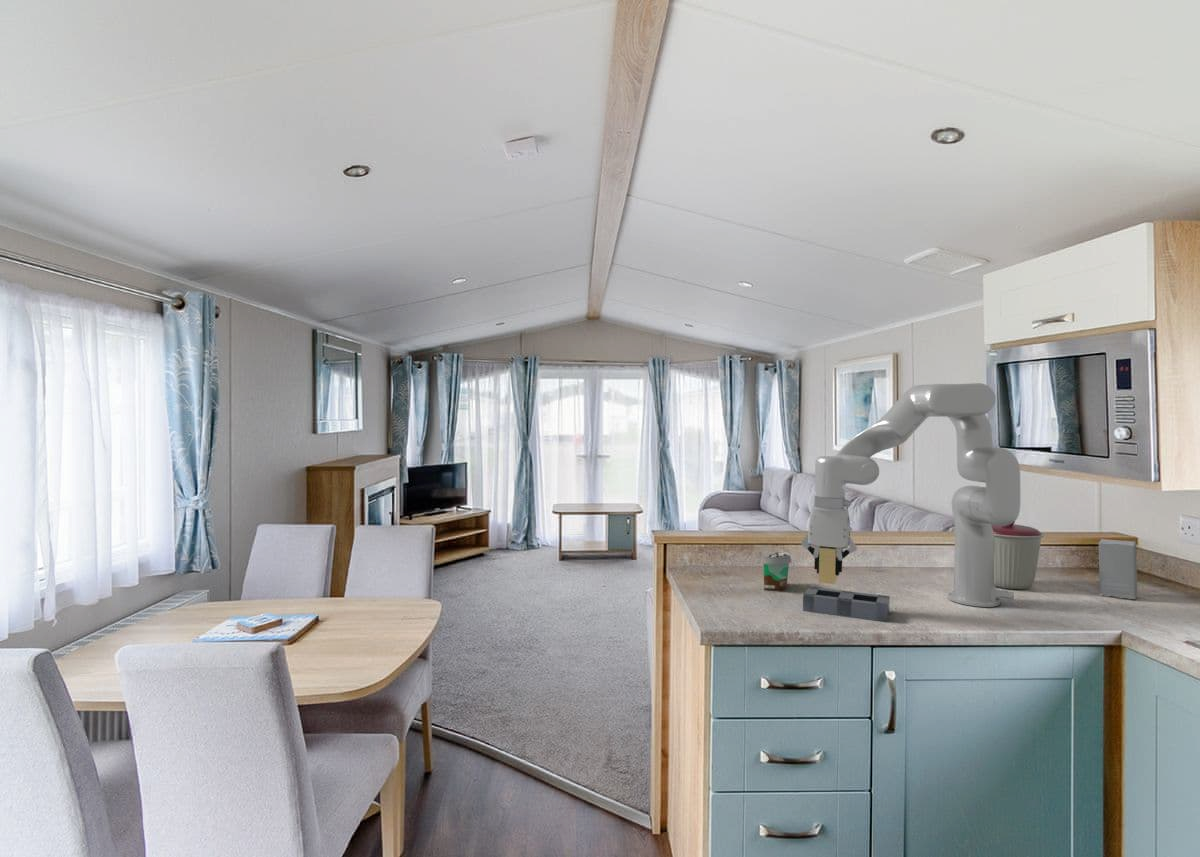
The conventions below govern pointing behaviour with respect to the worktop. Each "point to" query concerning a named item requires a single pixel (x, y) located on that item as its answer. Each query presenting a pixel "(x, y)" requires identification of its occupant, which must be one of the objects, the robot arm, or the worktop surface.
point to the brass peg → (827, 565)
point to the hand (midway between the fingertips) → (828, 572)
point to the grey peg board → (847, 603)
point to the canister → (1015, 555)
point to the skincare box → (1118, 568)
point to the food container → (776, 571)
